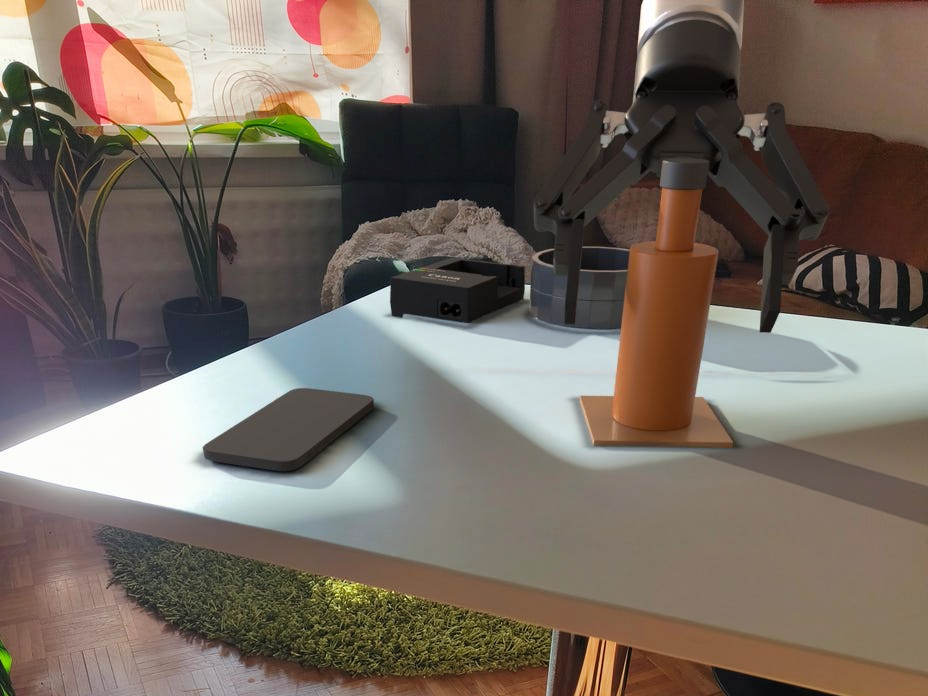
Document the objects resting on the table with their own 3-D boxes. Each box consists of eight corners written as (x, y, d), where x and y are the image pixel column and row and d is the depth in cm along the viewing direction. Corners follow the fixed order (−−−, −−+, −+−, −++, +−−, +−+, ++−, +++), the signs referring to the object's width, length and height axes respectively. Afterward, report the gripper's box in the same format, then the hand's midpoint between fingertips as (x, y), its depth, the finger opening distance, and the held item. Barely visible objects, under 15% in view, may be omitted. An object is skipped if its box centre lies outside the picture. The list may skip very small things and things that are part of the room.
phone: (379, 396, 71) (292, 463, 59) (379, 406, 71) (294, 475, 59) (295, 386, 73) (195, 449, 61) (296, 396, 73) (196, 461, 61)
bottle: (682, 404, 71) (721, 156, 61) (698, 431, 66) (743, 165, 56) (607, 403, 71) (633, 155, 61) (617, 430, 66) (647, 164, 56)
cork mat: (702, 403, 72) (703, 396, 72) (732, 448, 64) (733, 442, 64) (579, 401, 73) (579, 395, 72) (593, 447, 64) (594, 440, 64)
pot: (643, 304, 100) (650, 247, 97) (664, 335, 89) (673, 272, 86) (526, 303, 101) (529, 246, 97) (533, 334, 90) (536, 271, 86)
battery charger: (468, 329, 91) (468, 288, 89) (390, 317, 95) (388, 277, 93) (524, 303, 100) (526, 265, 98) (451, 293, 104) (451, 256, 102)
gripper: (847, 100, 68) (838, 354, 64) (521, 96, 71) (493, 338, 67) (883, 12, 61) (876, 293, 56) (518, 13, 64) (486, 278, 60)
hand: (668, 318), depth 62 cm, fingers open, 13 cm apart
